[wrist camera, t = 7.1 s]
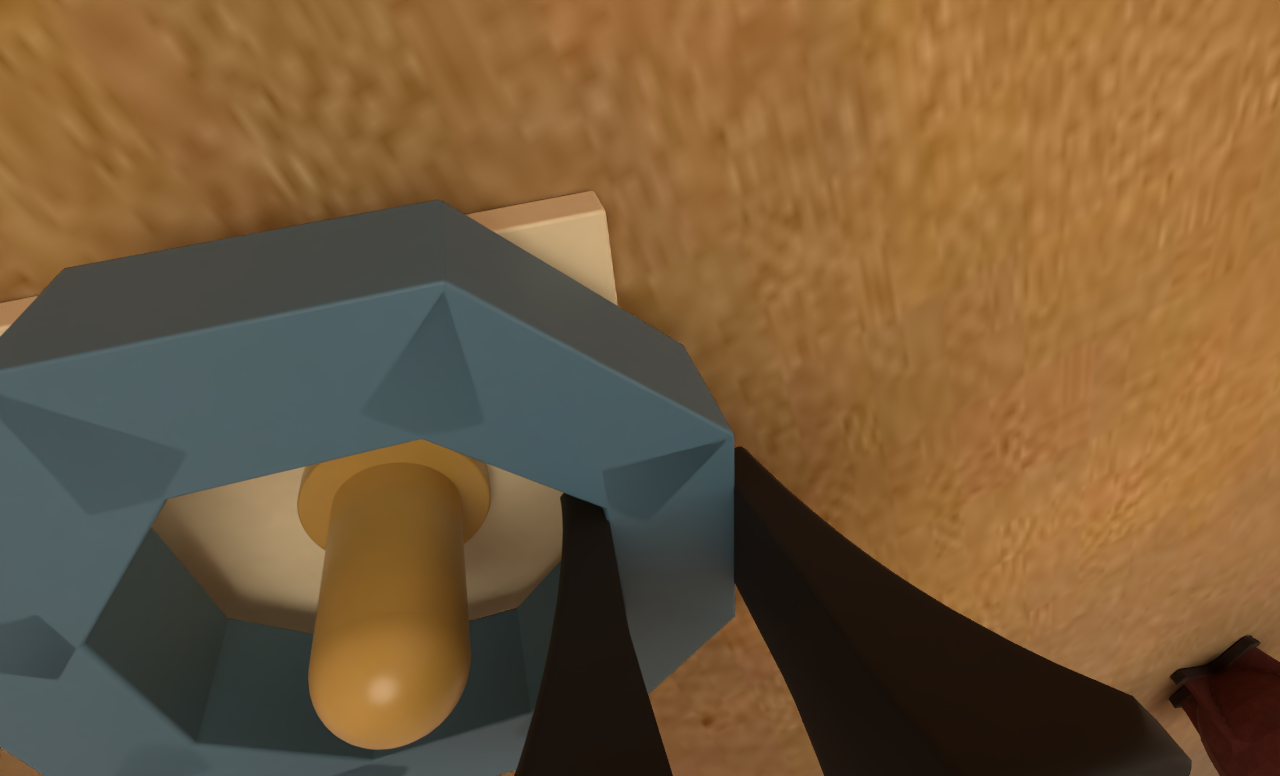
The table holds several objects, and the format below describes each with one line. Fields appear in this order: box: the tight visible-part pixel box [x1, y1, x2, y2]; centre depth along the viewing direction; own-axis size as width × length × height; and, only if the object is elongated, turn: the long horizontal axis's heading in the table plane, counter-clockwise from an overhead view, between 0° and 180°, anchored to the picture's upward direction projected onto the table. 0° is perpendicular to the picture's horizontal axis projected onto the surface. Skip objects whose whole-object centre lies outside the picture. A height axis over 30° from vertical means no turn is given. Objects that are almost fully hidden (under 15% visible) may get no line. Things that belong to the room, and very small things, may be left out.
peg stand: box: [0, 191, 618, 750], centre depth 12 cm, size 10×10×6 cm
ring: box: [0, 200, 735, 776], centre depth 12 cm, size 12×12×3 cm
